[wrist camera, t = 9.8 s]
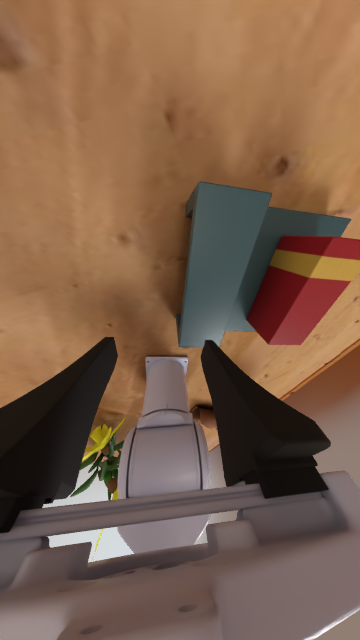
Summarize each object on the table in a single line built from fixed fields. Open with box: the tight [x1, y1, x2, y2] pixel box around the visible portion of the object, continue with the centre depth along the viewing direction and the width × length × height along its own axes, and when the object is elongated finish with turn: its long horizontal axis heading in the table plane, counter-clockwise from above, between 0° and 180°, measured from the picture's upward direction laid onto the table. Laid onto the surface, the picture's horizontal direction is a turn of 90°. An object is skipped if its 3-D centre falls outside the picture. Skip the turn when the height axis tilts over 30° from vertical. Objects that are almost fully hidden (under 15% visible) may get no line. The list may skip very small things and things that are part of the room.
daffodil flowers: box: [70, 418, 125, 550], centre depth 35 cm, size 17×15×35 cm
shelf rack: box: [176, 182, 351, 347], centre depth 15 cm, size 14×16×6 cm
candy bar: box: [246, 236, 360, 345], centre depth 14 cm, size 10×4×5 cm, turn 175°
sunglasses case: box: [190, 406, 217, 429], centre depth 38 cm, size 18×7×7 cm, turn 66°
